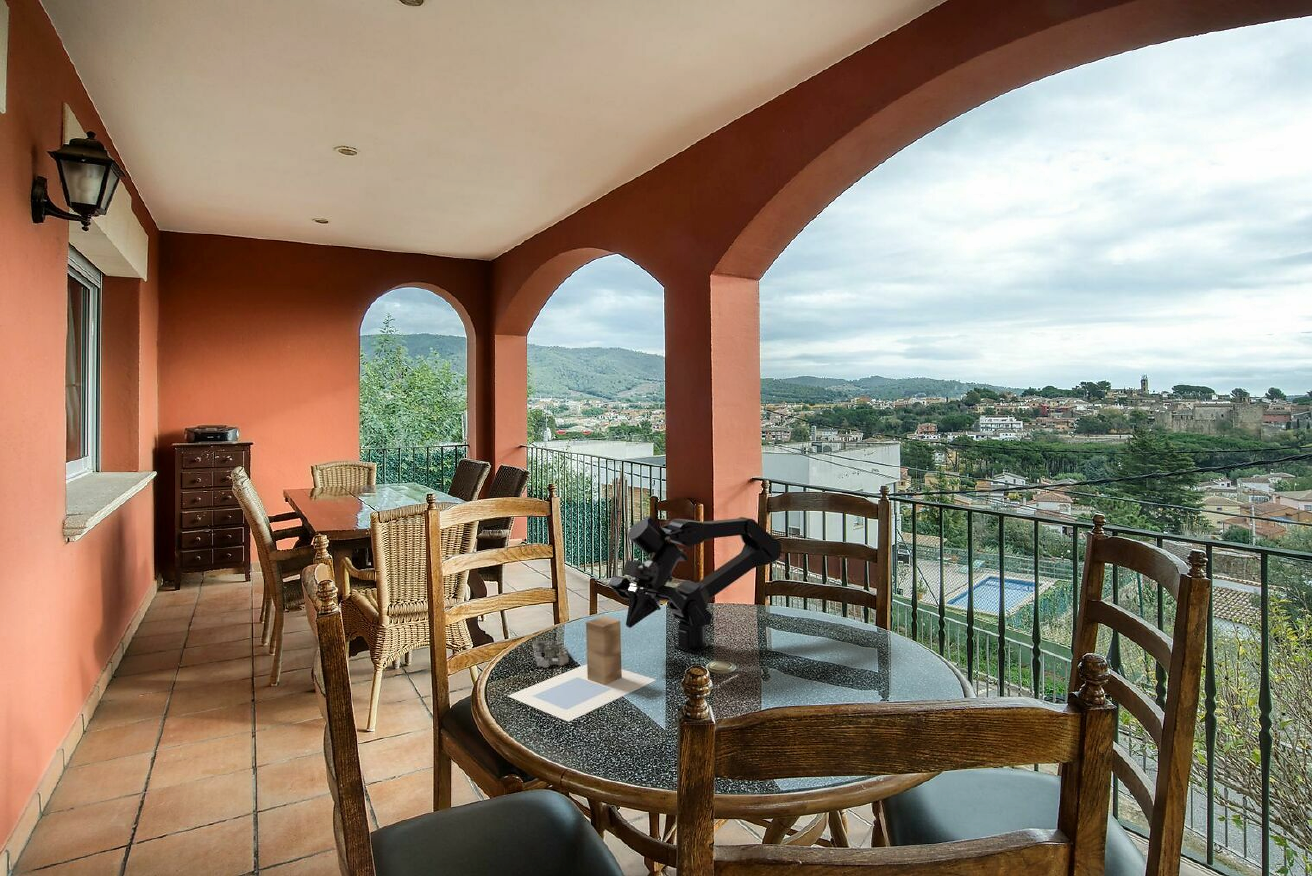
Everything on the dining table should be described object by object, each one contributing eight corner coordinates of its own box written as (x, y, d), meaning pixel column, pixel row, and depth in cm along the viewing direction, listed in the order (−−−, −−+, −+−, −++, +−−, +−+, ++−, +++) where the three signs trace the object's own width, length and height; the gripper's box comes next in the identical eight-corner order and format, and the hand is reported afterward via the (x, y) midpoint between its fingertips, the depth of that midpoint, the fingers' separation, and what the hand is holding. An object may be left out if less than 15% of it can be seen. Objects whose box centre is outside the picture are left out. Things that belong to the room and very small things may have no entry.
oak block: (604, 672, 146) (603, 616, 146) (621, 677, 143) (620, 620, 142) (587, 679, 142) (586, 622, 142) (604, 685, 139) (603, 626, 139)
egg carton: (569, 669, 151) (569, 650, 150) (535, 672, 149) (534, 654, 149) (565, 652, 161) (564, 634, 161) (532, 655, 159) (532, 638, 159)
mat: (595, 662, 153) (595, 660, 153) (656, 682, 141) (656, 680, 141) (507, 698, 135) (507, 695, 135) (568, 724, 123) (568, 721, 123)
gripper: (613, 540, 158) (578, 599, 150) (675, 550, 145) (640, 614, 137) (637, 568, 164) (605, 625, 156) (699, 580, 151) (667, 642, 144)
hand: (628, 626), depth 148 cm, fingers closed
